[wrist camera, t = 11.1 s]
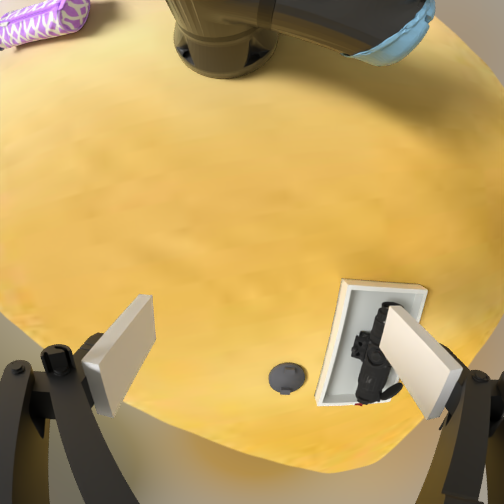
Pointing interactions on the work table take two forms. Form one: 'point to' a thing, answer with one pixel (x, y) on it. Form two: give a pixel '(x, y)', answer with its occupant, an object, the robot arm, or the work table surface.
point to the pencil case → (42, 21)
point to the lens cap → (286, 378)
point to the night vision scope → (373, 362)
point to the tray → (349, 325)
